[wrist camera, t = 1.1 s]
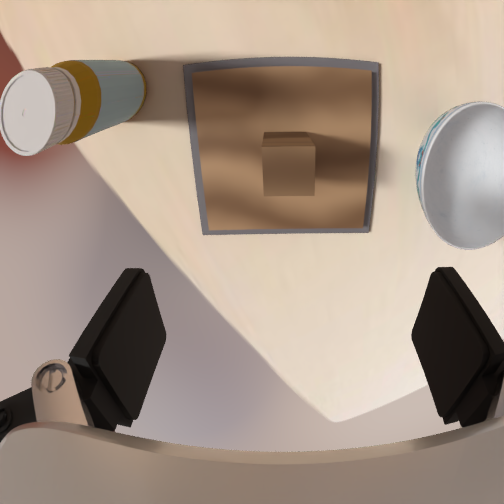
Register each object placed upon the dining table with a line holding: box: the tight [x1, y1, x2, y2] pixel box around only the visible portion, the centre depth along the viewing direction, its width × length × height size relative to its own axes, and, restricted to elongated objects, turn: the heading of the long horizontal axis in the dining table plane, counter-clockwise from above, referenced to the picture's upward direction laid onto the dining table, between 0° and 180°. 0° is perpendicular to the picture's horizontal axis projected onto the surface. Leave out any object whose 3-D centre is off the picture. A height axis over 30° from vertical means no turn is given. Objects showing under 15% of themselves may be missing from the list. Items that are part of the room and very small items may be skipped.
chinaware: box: [416, 102, 504, 250], centre depth 25 cm, size 15×15×8 cm
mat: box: [183, 57, 379, 235], centre depth 30 cm, size 19×19×1 cm
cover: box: [192, 66, 372, 230], centre depth 26 cm, size 17×17×8 cm
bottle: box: [0, 60, 146, 156], centre depth 21 cm, size 7×7×15 cm
